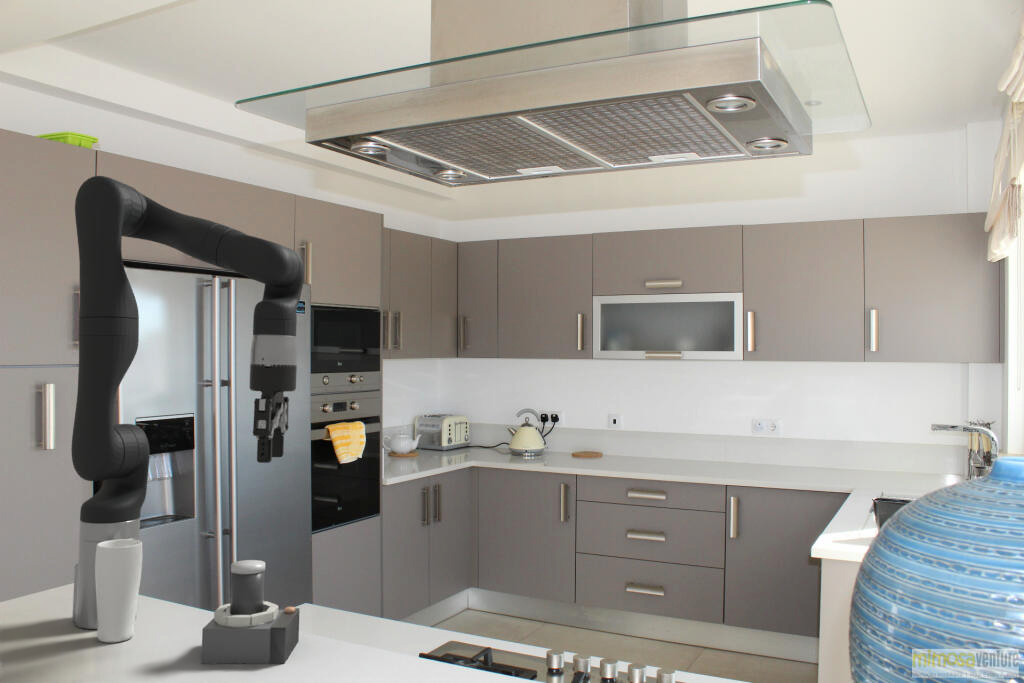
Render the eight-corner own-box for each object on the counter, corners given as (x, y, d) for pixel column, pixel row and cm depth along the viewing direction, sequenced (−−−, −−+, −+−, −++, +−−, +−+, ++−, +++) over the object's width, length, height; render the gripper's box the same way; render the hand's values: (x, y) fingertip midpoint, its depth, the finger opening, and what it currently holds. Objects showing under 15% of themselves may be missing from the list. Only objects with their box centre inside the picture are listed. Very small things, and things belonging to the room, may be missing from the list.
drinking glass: (120, 647, 125) (124, 548, 126) (81, 643, 126) (86, 546, 127) (148, 633, 131) (152, 540, 132) (111, 630, 133) (115, 537, 134)
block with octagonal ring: (201, 663, 119) (202, 618, 119) (221, 641, 128) (223, 599, 129) (284, 663, 119) (286, 618, 119) (298, 641, 129) (299, 600, 129)
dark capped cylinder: (221, 618, 123) (224, 564, 123) (246, 610, 127) (248, 558, 128) (246, 623, 121) (248, 568, 121) (270, 614, 125) (272, 562, 126)
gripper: (261, 363, 143) (258, 455, 143) (239, 361, 129) (235, 464, 129) (304, 364, 144) (301, 456, 143) (287, 362, 130) (283, 464, 129)
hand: (270, 459), depth 136 cm, fingers open, 8 cm apart
